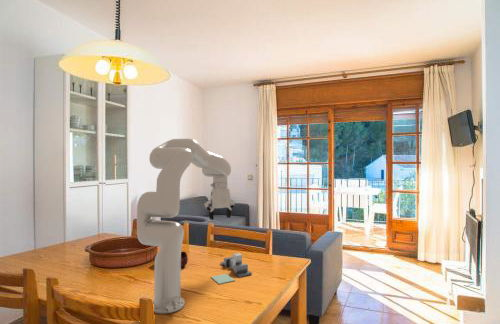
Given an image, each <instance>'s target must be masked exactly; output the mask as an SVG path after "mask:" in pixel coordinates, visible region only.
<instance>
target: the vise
mask: <svg viewBox="0 0 500 324" xmlns="http://www.w3.org/2000/svg"><path fill="white" fill-rule="evenodd" d="M231 259H233V256H229V257H228V256H227V257H224V258H223V261H221V262H220V266H222V267H225V268H229V262H230V260H231ZM248 266H249V264H247V263H244V262H243V263H242V264H239V265H235V268H234V271H233V273H234V274H235V276H236V277H238V278H242V277H247V276H248V277H249V276H251V275H252V274H253V273H252V272H251V270H249V269H248V268H249V267H248Z"/></svg>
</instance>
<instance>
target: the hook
mask: <svg viewBox="0 0 500 324" xmlns="http://www.w3.org/2000/svg"><path fill="white" fill-rule="evenodd" d="M232 257H233V259H231V260H230V262H229V267H228V268H230V269H231V270H232V271H233V272H234V268H235V265H239V264H243V255H242V254H241V253H239V252H237V253H232Z"/></svg>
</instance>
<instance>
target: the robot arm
mask: <svg viewBox="0 0 500 324" xmlns="http://www.w3.org/2000/svg"><path fill="white" fill-rule="evenodd" d="M148 160H149V163H150V166H152V168H155V169H159V170H160V171H159V173H158V175H157V177H156V186H155V188H156V190H155V191H146V192H144V193H142V194H140V195H141V196H140V197H138V198H139V199H138V200H137V204H136V235H137V240H138V242H139V243H141V245H143V246H144V245H145V246H151V247H159V248H160V249H159V251H158V252H157V253H156V255H155V256H156V257H155V262H154V279H153V281H154V286H153V287H154V295H153V297H154V298H153V300H152V301H153V304H154V312H153V313H155V314H161V315H163V314H171V313H176V312H178V311H181V310H182V309H183V308H184V307H185V299H184V298H183V297H182V296H181V295H182V291H181V289H182V288H181V284H182V283H181V282H182V281H181V280H182V279H181V278H182V277H181V276H182V275H181V274H182V267H181V252H182V247H183V241H184V235H185V230H184V227H183V225H182V224H181V223H179V222H177V221H172V220H160V219H159V220H158V219H156V218H164V219H170V218H172V219H173V218H175V217H177V215H178V214H179V213H180V207H181V203H180V202H181V197H180V195H181V193H180V192H181V189H180V187H181V179H182V177H183V174H184V173H185V172H186V170H187V169H188V167H189V166H191V164H192V165H194V166H195V167H196V168H199V169H201V172H202V174H203V175H204V176H206V177H209V178H212V183H210V188H211V190H210V199H209V200H208V201H206V202H205V203H204V208H205V209H206V210H207V211H208V212H209V213H208V217H209V218H208V219H209V220H210V221H211V220H214V210H215V209H224V208H225V209H226V218H227V219H230V218H231V215H232V213H231V212H232V210H233V208H234V207H235V204H236V201H235V200H232V198H231V193H230V188H228V177H229V176H230V175H231V172H232V169H231V168H232V167H231V164H230V163H229V161H228V160H227V159H226V158H224V157H223V156H221V155H218V154H215V153H213V152H210V151H208V150H207V149H205V148H204V146H202V145H201V144H200V143H199V142H198V141H197V140H196V139H193V138H172V139H169V140H167V141H165V142H163V143H161V144H159V145H158V146H155V147H154V148H153V149H152V150H151V152H150V154H149V159H148ZM209 206H210V207H209Z"/></svg>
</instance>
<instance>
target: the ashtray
mask: <svg viewBox="0 0 500 324" xmlns="http://www.w3.org/2000/svg"><path fill="white" fill-rule="evenodd" d="M155 257H156V255H153V263H155ZM188 259H189V258H188V254H187V252H186V251H181V268H183V267H185V266H186V265H187V264H188V261H189V260H188Z"/></svg>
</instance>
